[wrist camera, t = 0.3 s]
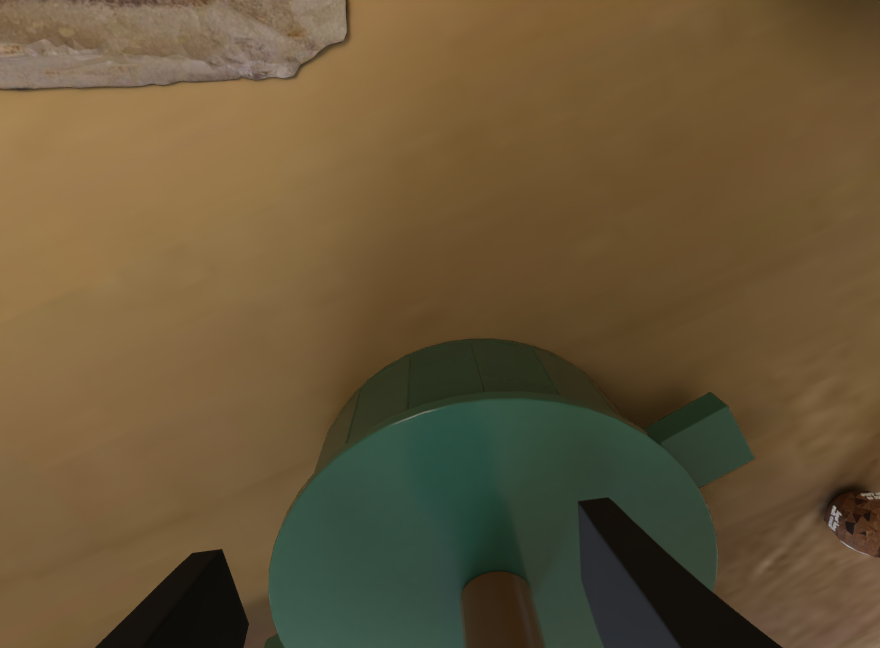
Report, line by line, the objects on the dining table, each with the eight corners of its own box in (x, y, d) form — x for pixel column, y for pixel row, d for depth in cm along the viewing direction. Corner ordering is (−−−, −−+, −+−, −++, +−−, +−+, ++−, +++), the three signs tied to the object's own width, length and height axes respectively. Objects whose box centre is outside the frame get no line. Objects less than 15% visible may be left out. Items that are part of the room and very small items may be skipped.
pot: (729, 481, 22) (826, 583, 16) (390, 659, 25) (382, 793, 19) (593, 233, 18) (665, 264, 12) (207, 479, 21) (135, 588, 15)
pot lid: (761, 604, 18) (890, 773, 13) (433, 760, 20) (438, 955, 15) (576, 288, 13) (666, 361, 8) (184, 532, 15) (77, 701, 11)
